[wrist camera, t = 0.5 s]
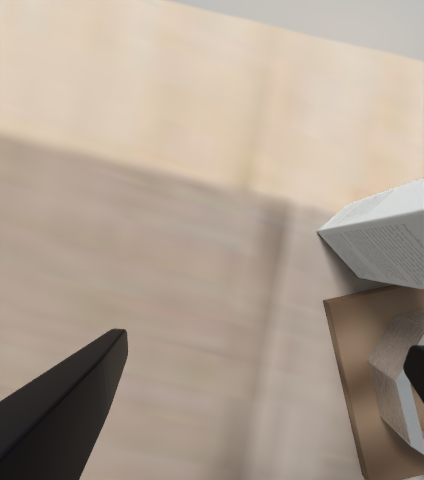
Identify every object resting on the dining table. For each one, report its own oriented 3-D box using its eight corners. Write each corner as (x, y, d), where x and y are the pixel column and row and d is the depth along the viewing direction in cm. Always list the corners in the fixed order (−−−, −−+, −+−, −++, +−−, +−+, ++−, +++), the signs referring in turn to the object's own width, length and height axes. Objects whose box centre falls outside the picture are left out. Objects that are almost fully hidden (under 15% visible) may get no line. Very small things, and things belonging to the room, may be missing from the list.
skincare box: (390, 248, 21) (633, 248, 9) (357, 278, 21) (558, 320, 9) (346, 201, 21) (527, 137, 9) (314, 230, 21) (452, 205, 9)
